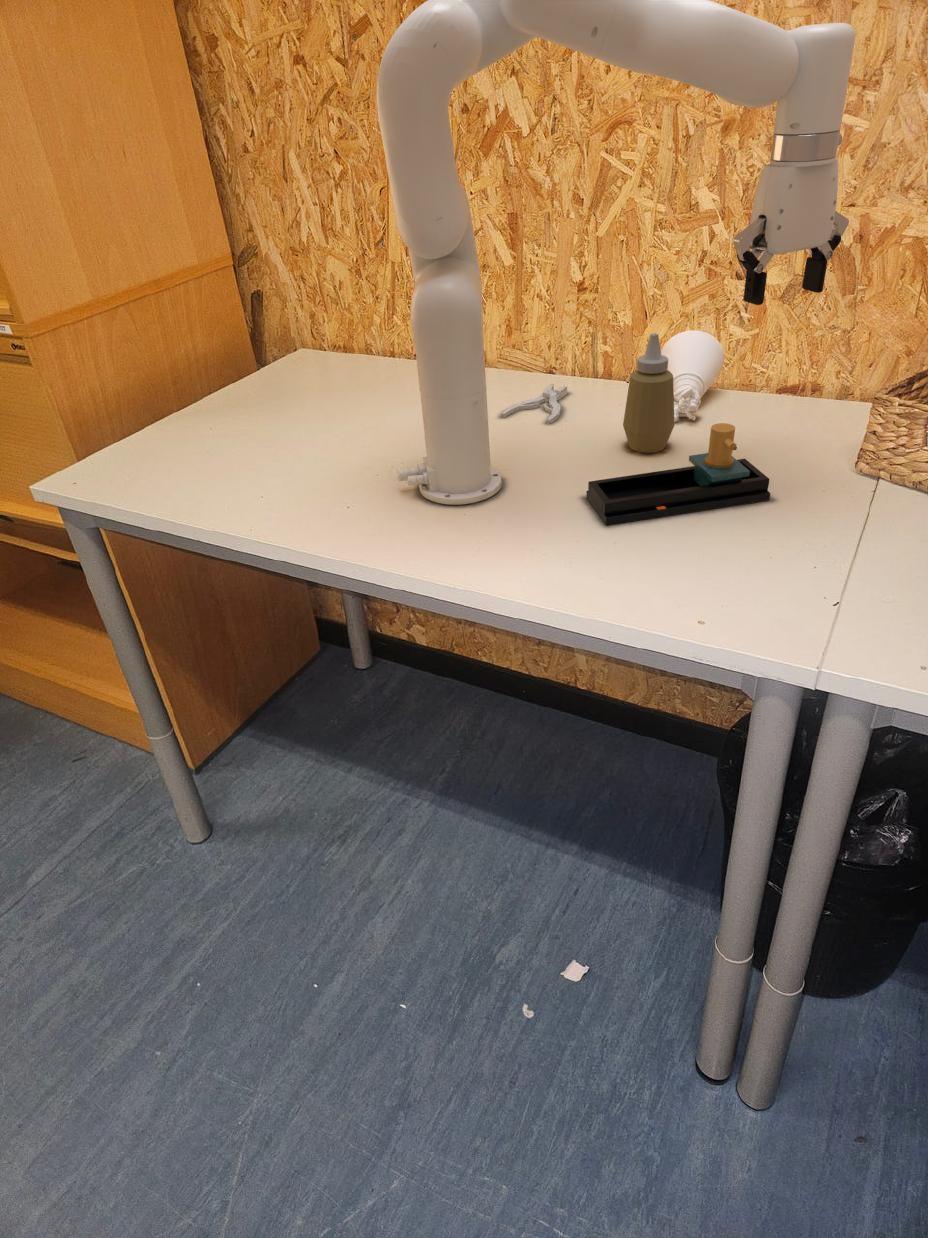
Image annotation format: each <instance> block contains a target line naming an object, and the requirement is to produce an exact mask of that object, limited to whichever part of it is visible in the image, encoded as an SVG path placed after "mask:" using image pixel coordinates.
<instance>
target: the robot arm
mask: <svg viewBox="0 0 928 1238" xmlns="http://www.w3.org/2000/svg"><path fill="white" fill-rule="evenodd" d="M536 38H539V39H542V40H543V41H547V42H550V43H552V44H554V45H558V46H560V47H563V48H566V49H570V50H571V51H574V52H577V53H580V54H583V55H585V56H588V57H591V58H594V59H596V60H599V61H602V62H605V63H607V64H609V65H612V66H615V67H617V68H621V69H623V70H627V71H629V72H633V73H636V74H643V75H651V76H657V77H662V78H666V79H670V80H673V81H676V82H679V83H683V84H686V85H689V86H691V87H694V88H698V89H701V90H703V91H705V92H707V93H708V92H709V93H711V94H714V95H716V96H717V97H718V98H719V99H720V100H722V101H724V102H725V103H728V104H730V105H734V106H740V107H746V108H750V109H761V108H766V107H769V106H771V105H773V104H774V103H776V108H775V110H776V111H775V117H774V125H773V134H772V141H771V148H770V149H771V150H770V157H769V158H770V159H769V163H767V164H764V165H763V168H762V171H761V173H760V176H759V181H758V183H757V186H756V191H755V194H754V199H753V204H752V208H751V215H750V220H749V221H750V222H749V225H748V226H746V227H745V228H744V229H743V230H741V231H740V232H739V233H738V234H736V235H735V236H734V237H733V241H732V242H733V245H734V249H735V251H736V253H737V254H736V258H737V260H738V261H739V262H740V264H741V266H742V269H743V270H744V271H746V274H745V281H744V290H743V301H744V302H746V303H749V304H752V305H755V306H761V305H763V304H764V301H765V295H766V285H767V279H768V272H766V271H764V270H765V269H766V267H767V266H768V264H769V263H770V262H771V260H772V258H773V257H774V256H775V255H783V254H788V253H794V252H801V251H804V250H808V252H809V254H810V255H811V256H808V257H807V256H806V260H805V265H804V272H803V278H802V279H803V280H802V285H801V288H802V289H803V290H805V291H808V292H812V293H816V294H818V293H819V294H820V293H822V292H823V290H824V284H825V280H826V273H827V268H828V267H827V266H828V262H829V261H830V260H831V259H832V258H833V257H834V251H835V250H836V248H837V247H838V246H839V245H840V244H841V241H842V237H843V235H844V233H845V232H846V230H847V227H848V225H849V224H850V219H849V218H848V217H846V216H844V215H843V214H841V213H839V212H837V200H838V192H839V191H838V190H839V188H838V187H839V159H837V152H838V147H839V146H841V144H842V143H843V135H842V134H841V128H842V123H843V116H844V111H845V110H844V109H845V103H846V98H847V92H848V85H849V80H850V74H851V67H852V61H853V54H854V49H855V42H856V41H855V40H856V31H855V28H854V27H853V25H851V24H850V23H848V22H827V23H826V22H825V23H817V24H807V25H801V26H797V27H795V28H793V29H784V28H782V27H781V26H778V25H776V24H774V23H772V22H769V21H766V20H764V19H761V18H758V17H756V16H754V15H751V14H748V13H745V12H742V11H740V10H737V9H735V8H732V7H731V6H730V7H729V6H726V5H724V4H721V3H718V2H716V1H712V0H426V1H425V2H423V3H422V4H420V5H419V6H418V7H416V8H415V9H414V10H413V11H412V12H411V13H410V14H409V15H407V17H406V18H405V19H404V20H403V21H402V22H401V24H400V25H399V26H398V27H397V29H396V30H395V32H394V33H393V35H392V36H391V38H390V40H389V41H388V43H387V45H386V48H385V50H384V52H383V55H382V58H381V61H380V65H379V68H378V72H377V73H378V74H377V79H376V110H377V118H378V125H379V130H380V136H381V141H382V146H383V152H384V158H385V159H384V160H385V167H386V172H387V176H388V181H389V186H390V192H391V197H392V204H393V209H394V219H395V225H396V229H397V232H398V235H399V237H400V239H401V241H402V242H403V245H405V247H406V248H407V250H408V255H409V260H410V264H411V269H412V270H411V271H412V275H413V280H414V284H415V285H414V288H413V292H412V296H411V299H410V300H411V301H410V311H409V313H410V326H411V333H412V334H411V335H412V340H413V345H414V352H415V359H416V360H415V361H416V369H417V378H418V386H419V392H420V402H421V413H422V422H423V432H424V441H425V452H426V454H425V455H426V456H423V457H422V461H423V462H422V463H417V465H416V466H412V467H411V466H407V467H399V468H397V469H396V473H397V479H398V482H404V481H407V484H408V486H415V485H418V486H419V492H420V494H421V495H422V497H424V498H425V499H427V500H429V501H431V502H434V503H437V504H443V505H453V506H454V505H455V506H457V505H467V504H469V505H470V504H475V503H478V502H481V501H485V500H487V499H489V498H491V497H493V496H494V495H496V494H497V493H498V492H499V491H500V490H501V488H502V475H501V474H500V473H499V472H498V471H497V470H496V469H495V468H493V467H491V450H490V449H491V447H490V432H489V412H488V411H489V410H488V409H489V408H488V394H487V380H486V376H487V375H486V362H485V361H486V359H485V340H484V339H485V338H484V311H483V310H484V309H483V285H482V277H481V271H480V264H479V259H478V252H477V246H476V244H477V243H476V238H475V233H474V227H473V219H472V213H471V207H470V202H469V197H468V194H467V192H466V190H465V187H464V186H463V185H462V183H461V181H459V175H458V170H457V164H456V157H455V152H454V140H453V135H452V129H451V123H450V116H449V114H450V113H449V105H450V99H451V96H452V93H453V91H454V89H455V88H456V87H457V86H458V85H461V84H463V83H464V82H466V81H467V80H469V79H470V78H471V77H473V76H475V75H476V74H478V73H480V72H481V71H483V70H485V69H486V68H488V67H490V66H491V65H493V64H495V63H497V62H498V61H500V60H502V59H504V58H506V57H507V56H509V55H510V54H512V53H514V52H515V51H517V50H519V49H520V48H522V47H524V46H525V45H527V44H529V43H530V42H531V41H533V40H535V39H536Z"/></svg>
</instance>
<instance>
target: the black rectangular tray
mask: <svg viewBox="0 0 928 1238" xmlns="http://www.w3.org/2000/svg"><path fill="white" fill-rule="evenodd" d="M736 460H737V461H739V462H740V463H741V464H742V465H743V466H744V467H746V468H747V469H748V470H749V471H750V475H749V476H748V477H742V480H737V481H730V482H724V483H717V484H710V485H704V486H700V485H699V484H698V483H697V482H696V481H695V480H693V477H694V467H695V466H694V465H692V466H684V467H679V468H678V467H677V468H671V469H666V470H658V471H651V472H643V473H638V474H631V475H623V476H617V477H610V478H603V479H595V480H590V481H588V484H587V485H588V487H587V490H586V497H585V498H586V500H587V501H588V502H589V503H590V505H591V507H593V509H594V510H595V512H596V513H597V515H598V516H599V517H600V519H601V520H602V522H603V523H604V524H605V526H612V525H619V524H625V523H631V522H638V521H643V520H649V519H657V518H663V517H671V516H676V515H683V514H690V513H697V512H704V511H710V510H717V509H722V508H723V509H724V508H728V507H736V506H741V505H742V506H743V505H749V504H755V503H761V502H768V501H770V498H771V492H770V491H768V490H769V485H770V478H769V477H768V476H767V475H766V474H765V473H763V472H762V471H761V470H759V469H758V468H757V467H756V466H754V465H753V464H752V463H751V462H750V461H749V460H747V459H746V458H739V459H736Z"/></svg>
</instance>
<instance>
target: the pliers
mask: <svg viewBox="0 0 928 1238" xmlns="http://www.w3.org/2000/svg"><path fill="white" fill-rule="evenodd" d="M554 387H555V385H554V383H550V384H548V386H546V388H545V389H544V390H543V392H542V396H539V397H536V398H532V399H526V400H523V401H520V402H517V403H515V404H512V405H511V406H509V407H507V408H506V409H504V411H502V413H501V418H506V417H508V416H509V415H511V414H514V413H515V412H518V411H521V410H533V409H537V408H540V405H541V404H543V408H544V411H546V412H547V413H550V415H549V416H548V418H547V419H546V423H547V424H549V425H551V423H554V422H555V421H556V420H557V419H558V418H559V417H560V415H561V404H560V403H559V402H558V401H560V400H561V399H562V398H564V397H565V396H566V395H568V385H563V386H561V387H559V388H556V389H554ZM546 403H548V406H547V405H546Z"/></svg>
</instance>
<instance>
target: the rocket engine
mask: <svg viewBox="0 0 928 1238" xmlns="http://www.w3.org/2000/svg"><path fill="white" fill-rule="evenodd" d="M660 350H661V355H663V356H666V357H667V358H668V369H667V370H668V371H670V372H671V373H672V375H673V389H674V423H677V421H680V419H679V418H682V417H684V418H687V419H688V420H691V421H695V420H696V419H697V418H696V417H697V416H695V415H693V414H692V412H696V411H697V410H699V407H700V406H701V403H702V401H701V399H702V397H703V396H704V394H705V393H706V392H708V390H709V389H710V388H711V387H712V385H713V384H714V383H715V382H716V381H717V379H718V377H719V375H720V374H721V372H722V370H723V367H724V364H725V351H724V348H723V346H722V344H721V343H720V341H719V340H718V339H717V338H716V337H715V336H714V335H712V334H710V333H708V332H705V331H702V330H686V331H685V330H684V331H682V332H681V331H680V332H679V333H677V334H675V335H673V336H672V337H671V338H669V339H668V340H667V341H666V342H665V344H664V345H663V346H662V348H661V349H660Z"/></svg>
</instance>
